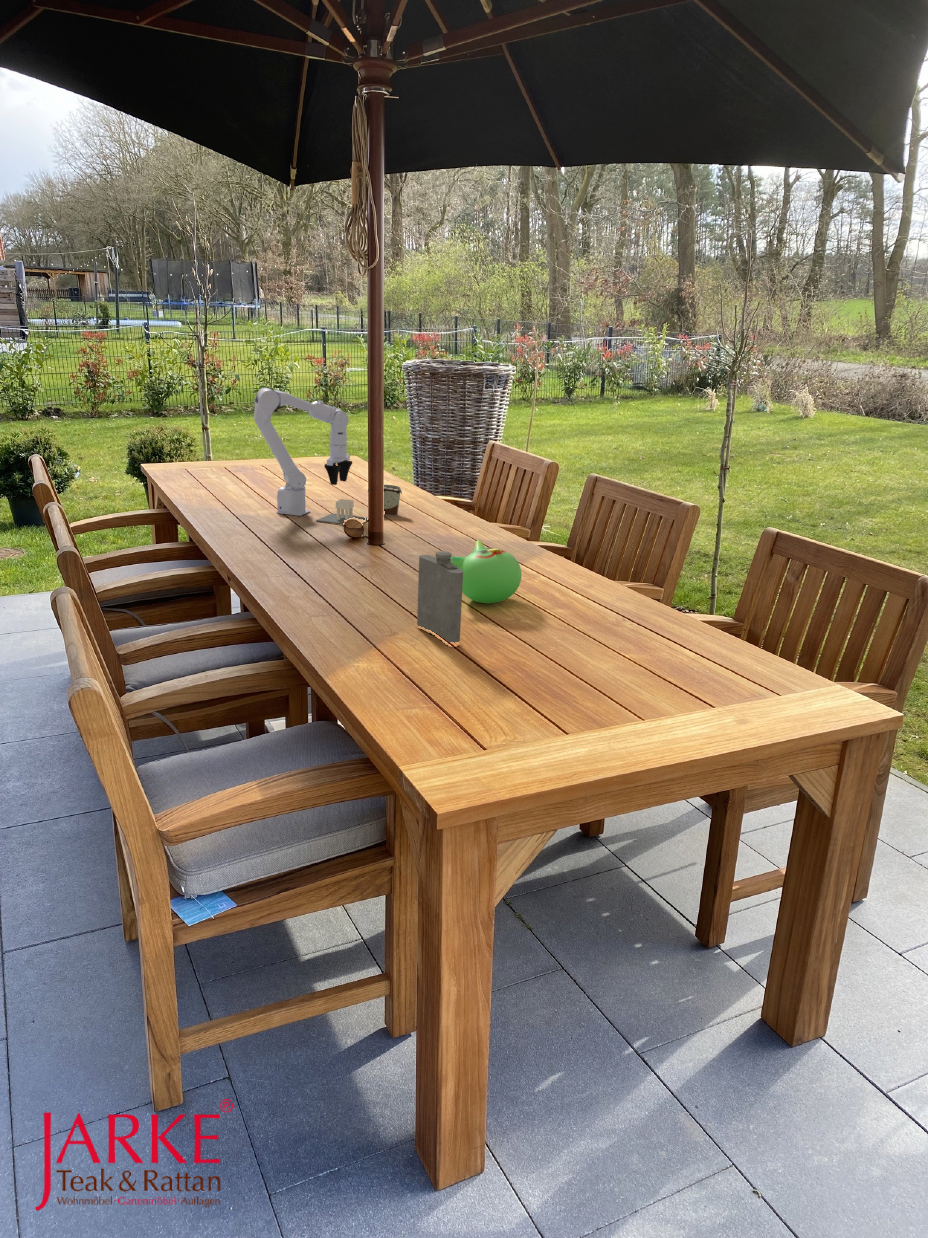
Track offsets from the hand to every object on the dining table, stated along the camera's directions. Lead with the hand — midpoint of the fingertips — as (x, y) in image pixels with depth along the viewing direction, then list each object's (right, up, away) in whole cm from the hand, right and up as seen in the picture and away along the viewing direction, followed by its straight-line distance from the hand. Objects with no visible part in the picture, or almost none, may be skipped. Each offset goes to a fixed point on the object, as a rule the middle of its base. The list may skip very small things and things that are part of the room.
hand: (338, 482), depth 319 cm
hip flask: (+39, -53, -112) cm, 130 cm away
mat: (+3, -15, -10) cm, 18 cm away
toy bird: (+51, -44, -86) cm, 109 cm away
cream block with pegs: (+3, -14, -10) cm, 18 cm away
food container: (+17, -11, +4) cm, 20 cm away
